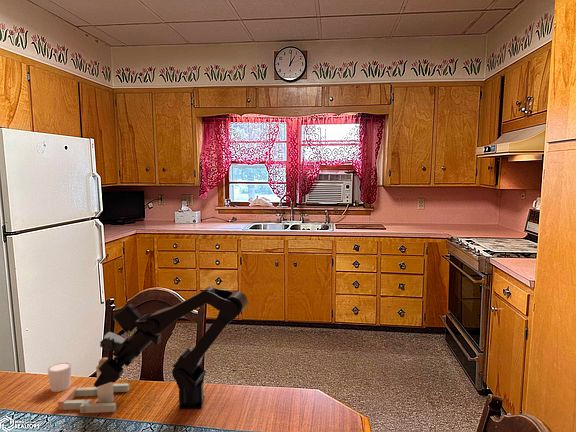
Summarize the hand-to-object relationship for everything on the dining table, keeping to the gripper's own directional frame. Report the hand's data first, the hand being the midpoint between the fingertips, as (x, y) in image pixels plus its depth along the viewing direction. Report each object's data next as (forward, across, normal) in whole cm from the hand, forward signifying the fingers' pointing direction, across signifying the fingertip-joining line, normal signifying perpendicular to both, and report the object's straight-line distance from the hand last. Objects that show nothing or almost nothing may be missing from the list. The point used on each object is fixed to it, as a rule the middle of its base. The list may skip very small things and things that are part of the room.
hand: (101, 378), depth 124 cm
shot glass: (+17, -9, -7) cm, 21 cm away
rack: (+6, 0, +4) cm, 7 cm away
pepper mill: (+4, 0, +6) cm, 7 cm away
